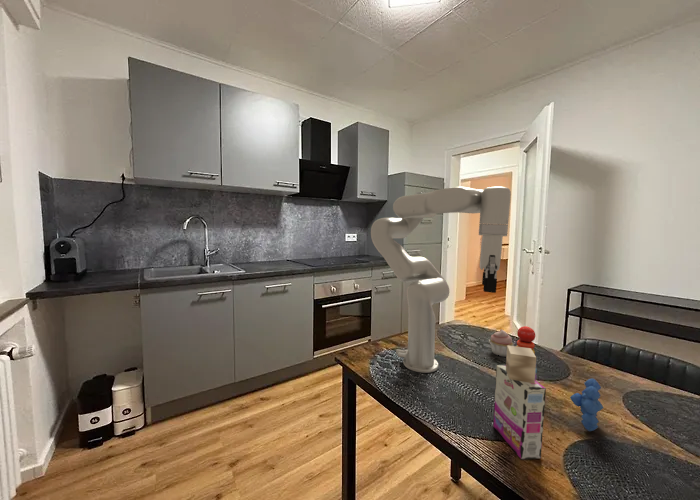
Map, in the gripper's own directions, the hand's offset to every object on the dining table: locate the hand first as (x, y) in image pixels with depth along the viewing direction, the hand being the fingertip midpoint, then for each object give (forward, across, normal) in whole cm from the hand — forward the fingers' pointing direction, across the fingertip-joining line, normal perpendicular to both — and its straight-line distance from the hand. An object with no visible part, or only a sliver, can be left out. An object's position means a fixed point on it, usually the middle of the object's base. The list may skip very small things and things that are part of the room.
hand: (488, 288), depth 86 cm
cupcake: (+33, -34, +8) cm, 48 cm away
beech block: (+16, +19, +7) cm, 26 cm away
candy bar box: (+33, +19, +7) cm, 38 cm away
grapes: (+32, +5, +25) cm, 41 cm away
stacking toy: (+33, -12, +13) cm, 37 cm away
